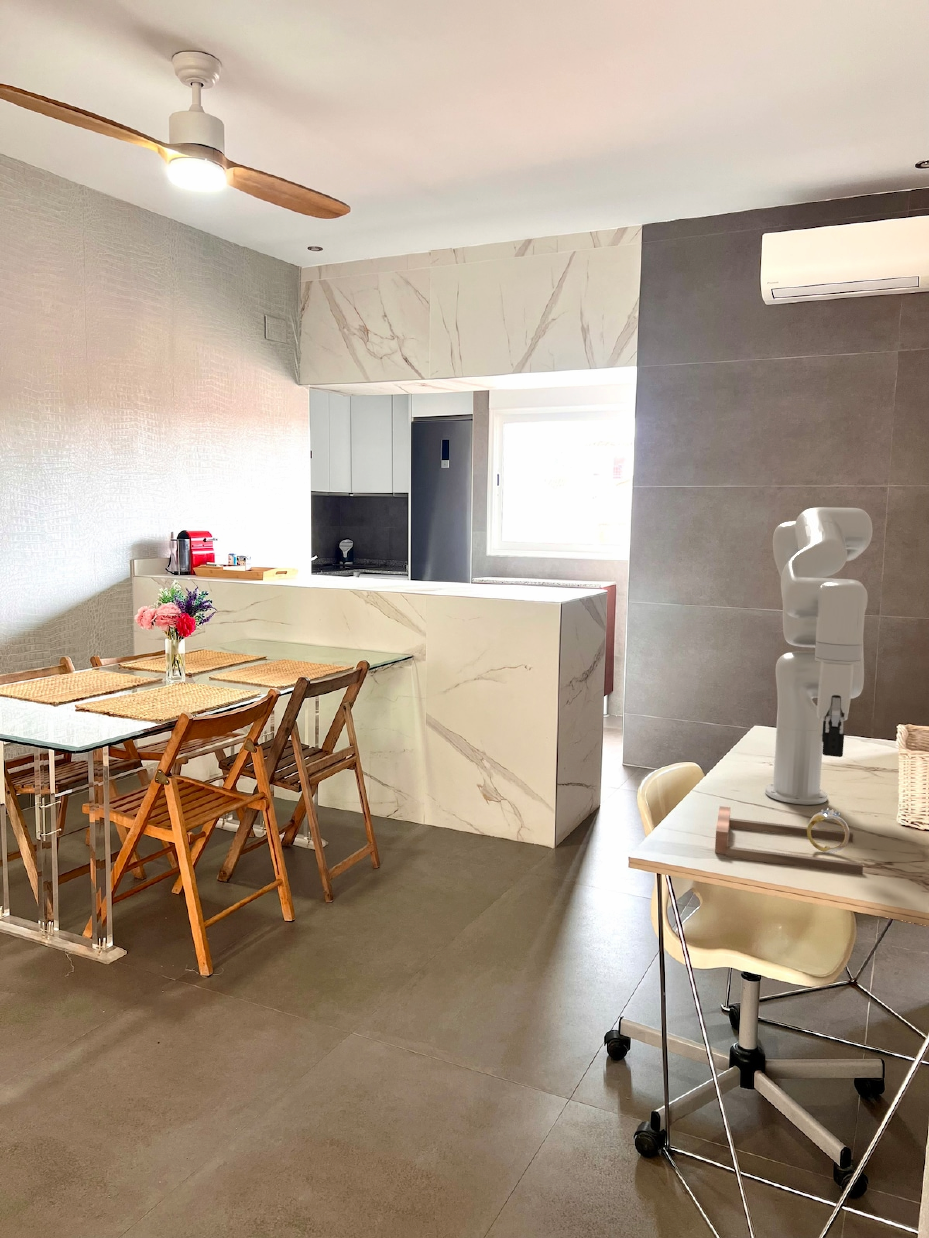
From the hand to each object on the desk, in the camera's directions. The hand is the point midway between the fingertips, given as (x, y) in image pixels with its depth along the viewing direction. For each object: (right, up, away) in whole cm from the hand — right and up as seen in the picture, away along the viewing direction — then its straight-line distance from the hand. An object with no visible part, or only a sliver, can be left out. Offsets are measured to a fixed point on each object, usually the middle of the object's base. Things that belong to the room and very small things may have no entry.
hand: (831, 749), depth 156 cm
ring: (0, -19, +3) cm, 19 cm away
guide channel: (-6, -19, +5) cm, 20 cm away
